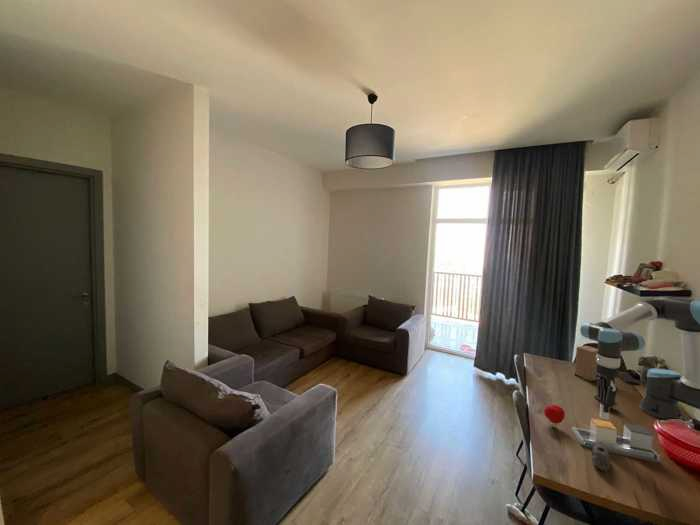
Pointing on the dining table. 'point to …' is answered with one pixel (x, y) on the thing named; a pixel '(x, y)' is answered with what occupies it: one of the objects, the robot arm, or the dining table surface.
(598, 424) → the module
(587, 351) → the wooden block
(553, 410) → the red round lump
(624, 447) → the rail
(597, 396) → the figurine
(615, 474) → the dining table surface
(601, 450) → the perforated stone tool
